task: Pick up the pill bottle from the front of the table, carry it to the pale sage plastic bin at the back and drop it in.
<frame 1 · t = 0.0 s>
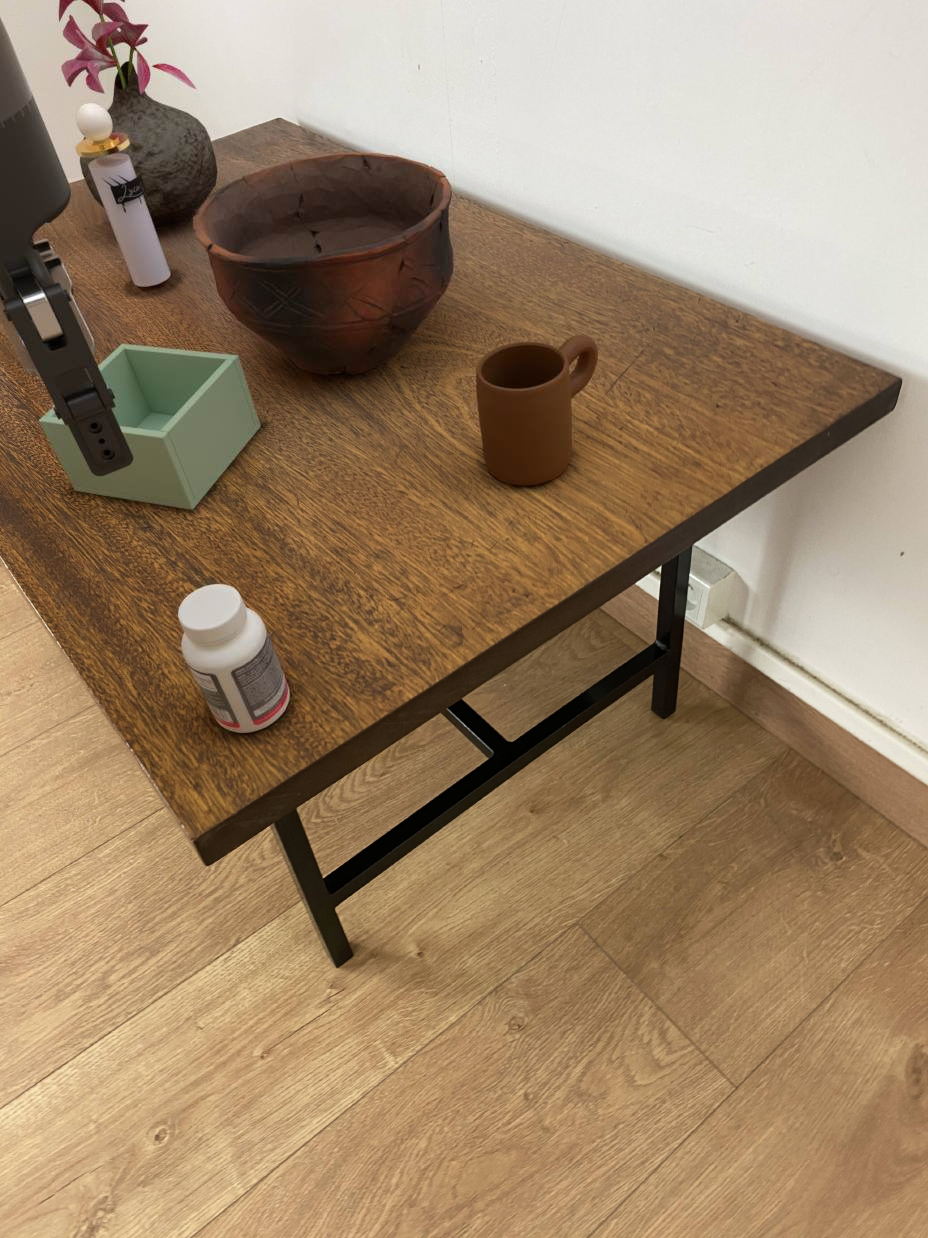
hand: (93, 429, 49), 21 cm above the table, tool pointing down, fingers open, 8 cm apart
pill bottle: (253, 705, 63), on the table
perfume bottle: (154, 284, 110), on the table
bowl: (354, 344, 95), on the table
vase: (171, 217, 124), on the table
mug: (546, 451, 79), on the table
bin: (170, 457, 84), on the table
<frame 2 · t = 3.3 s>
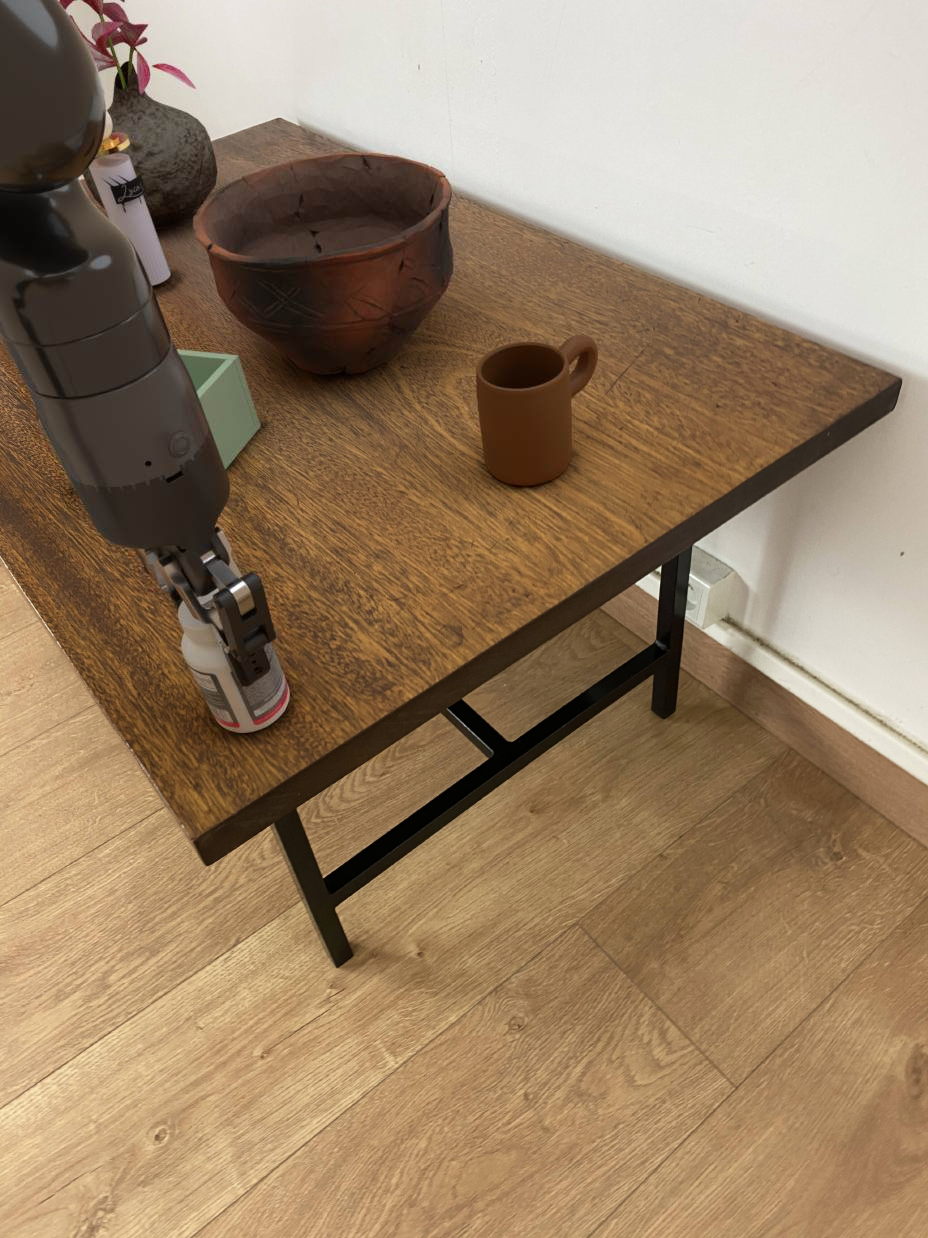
hand: (229, 652, 58), 5 cm above the table, tool pointing down, fingers closed on pill bottle, 5 cm apart
pill bottle: (253, 705, 63), on the table, touching gripper
everything else where it was.
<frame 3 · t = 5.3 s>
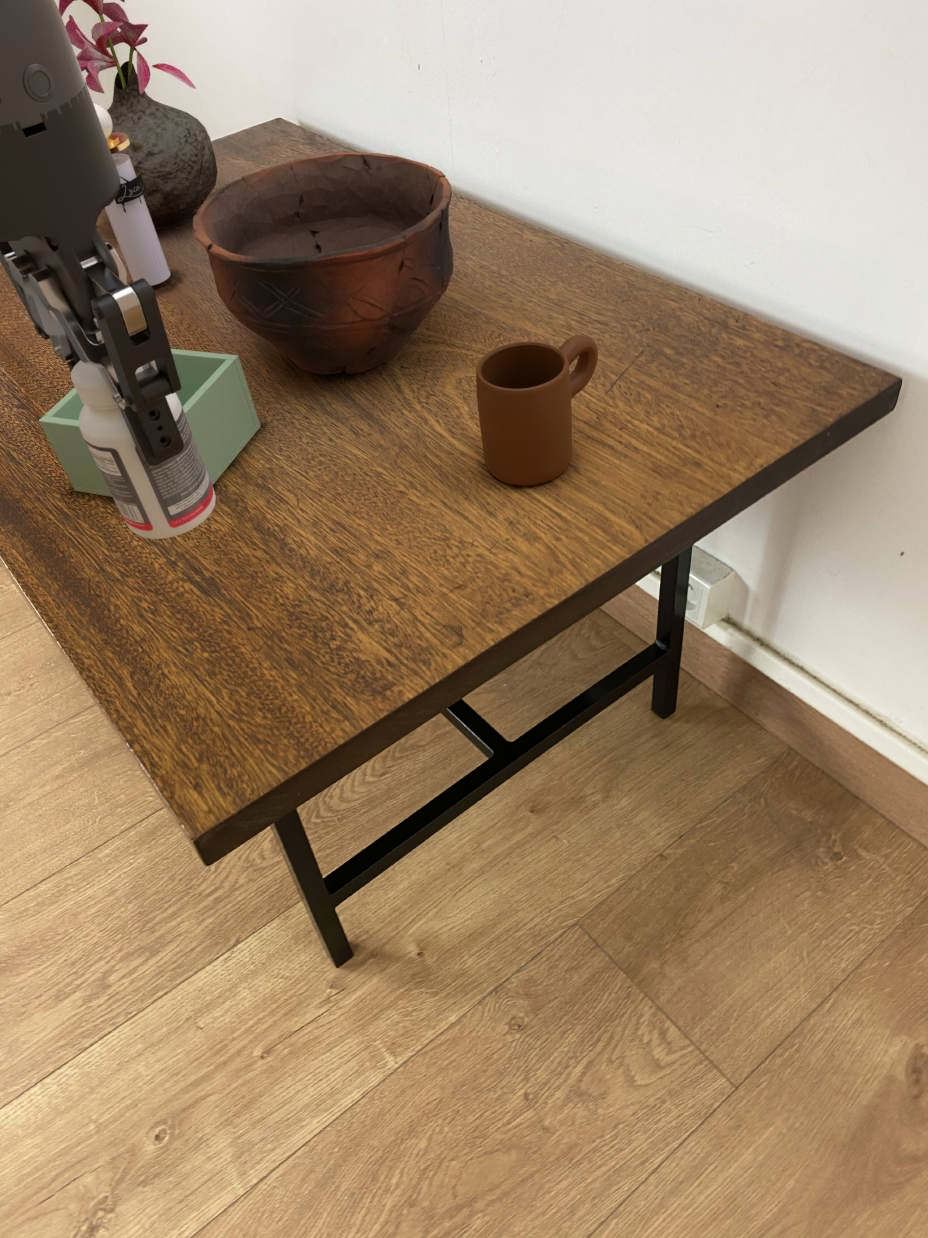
hand: (138, 434, 49), 21 cm above the table, tool pointing down, fingers closed on pill bottle, 5 cm apart
pill bottle: (173, 514, 53), point 15 cm above the table, touching gripper
everything else where it was.
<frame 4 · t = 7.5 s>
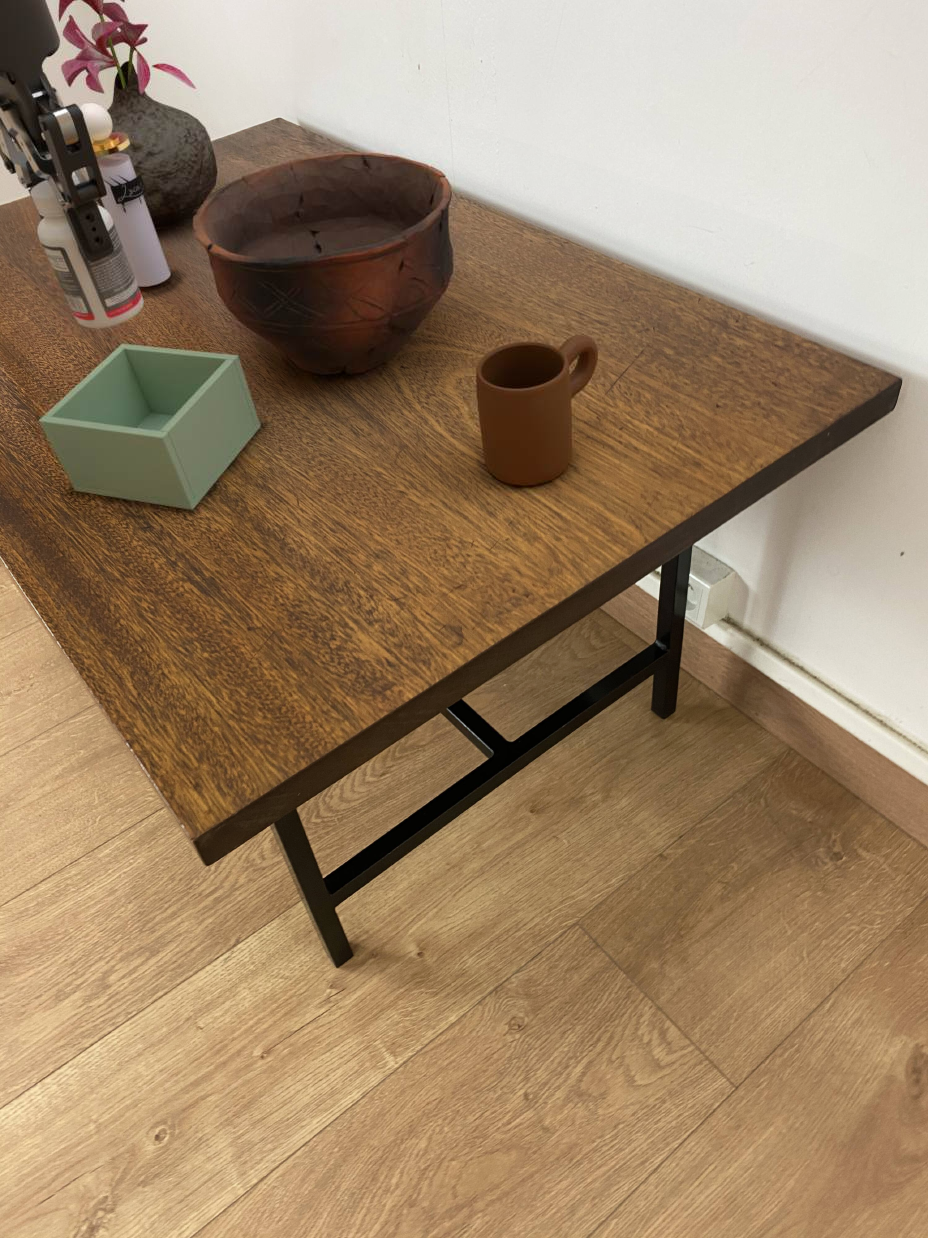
hand: (82, 244, 67), 21 cm above the table, tool pointing down, fingers closed on pill bottle, 5 cm apart
pill bottle: (112, 315, 71), point 15 cm above the table, touching gripper
everything else where it was.
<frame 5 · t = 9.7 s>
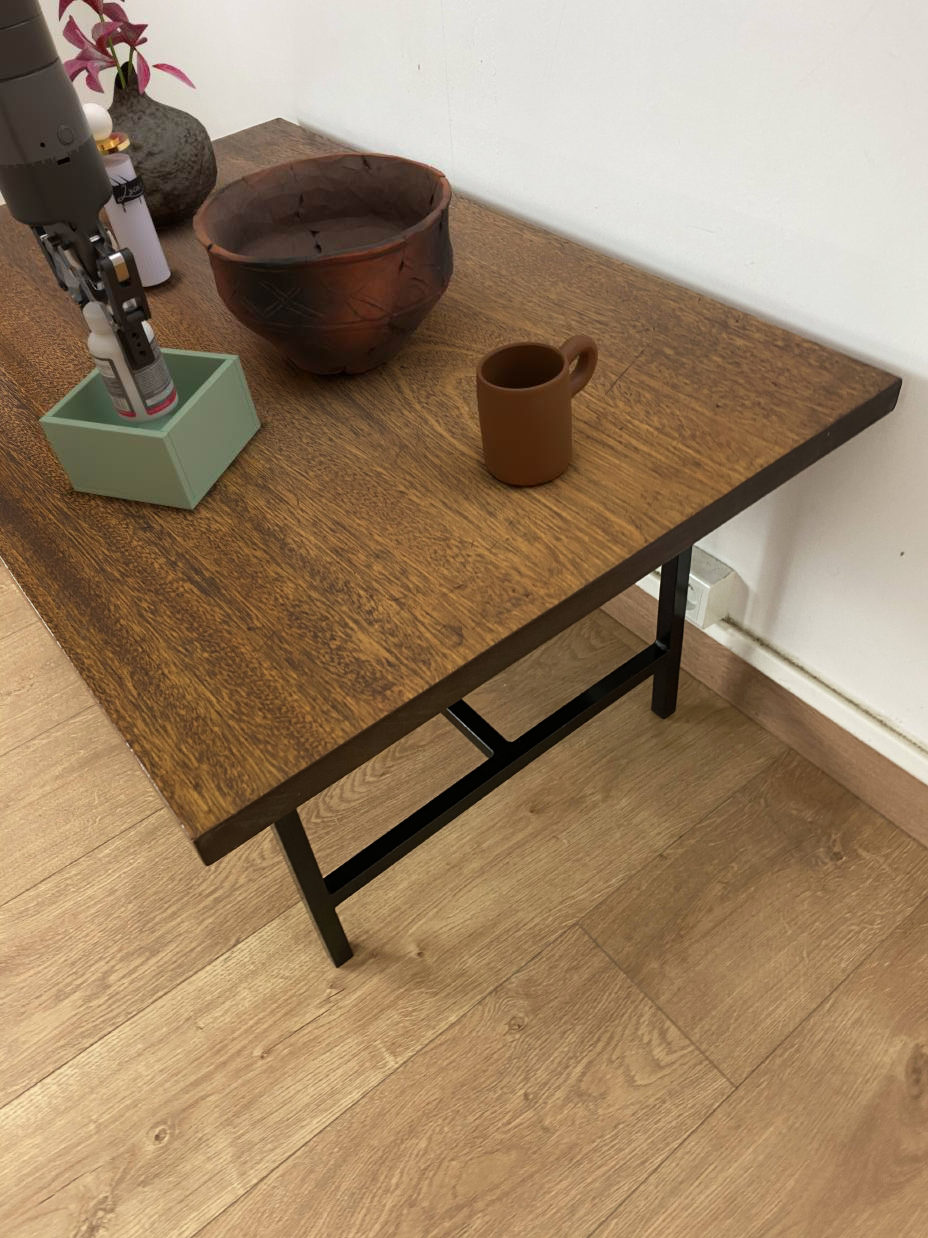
hand: (125, 352, 76), 11 cm above the table, tool pointing down, fingers closed on pill bottle, 5 cm apart
pill bottle: (150, 409, 80), point 5 cm above the table, touching gripper
everything else where it was.
when the fingers open (6 cm above the table, at t = 11.7 s): pill bottle stays where it is, resting on bin.
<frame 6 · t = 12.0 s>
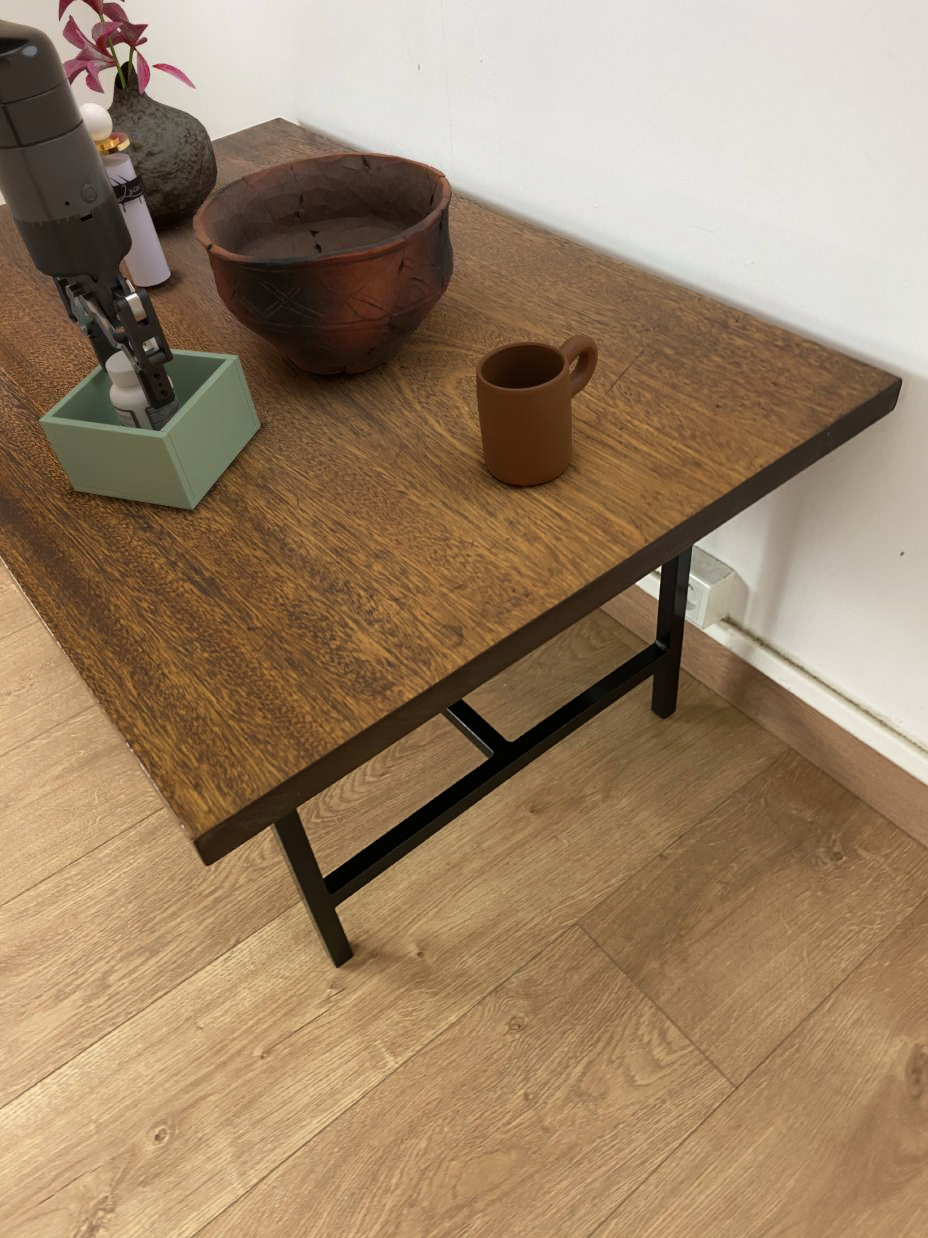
hand: (139, 386, 78), 8 cm above the table, tool pointing down, fingers open, 8 cm apart
pill bottle: (168, 454, 84), resting on bin
everything else where it was.
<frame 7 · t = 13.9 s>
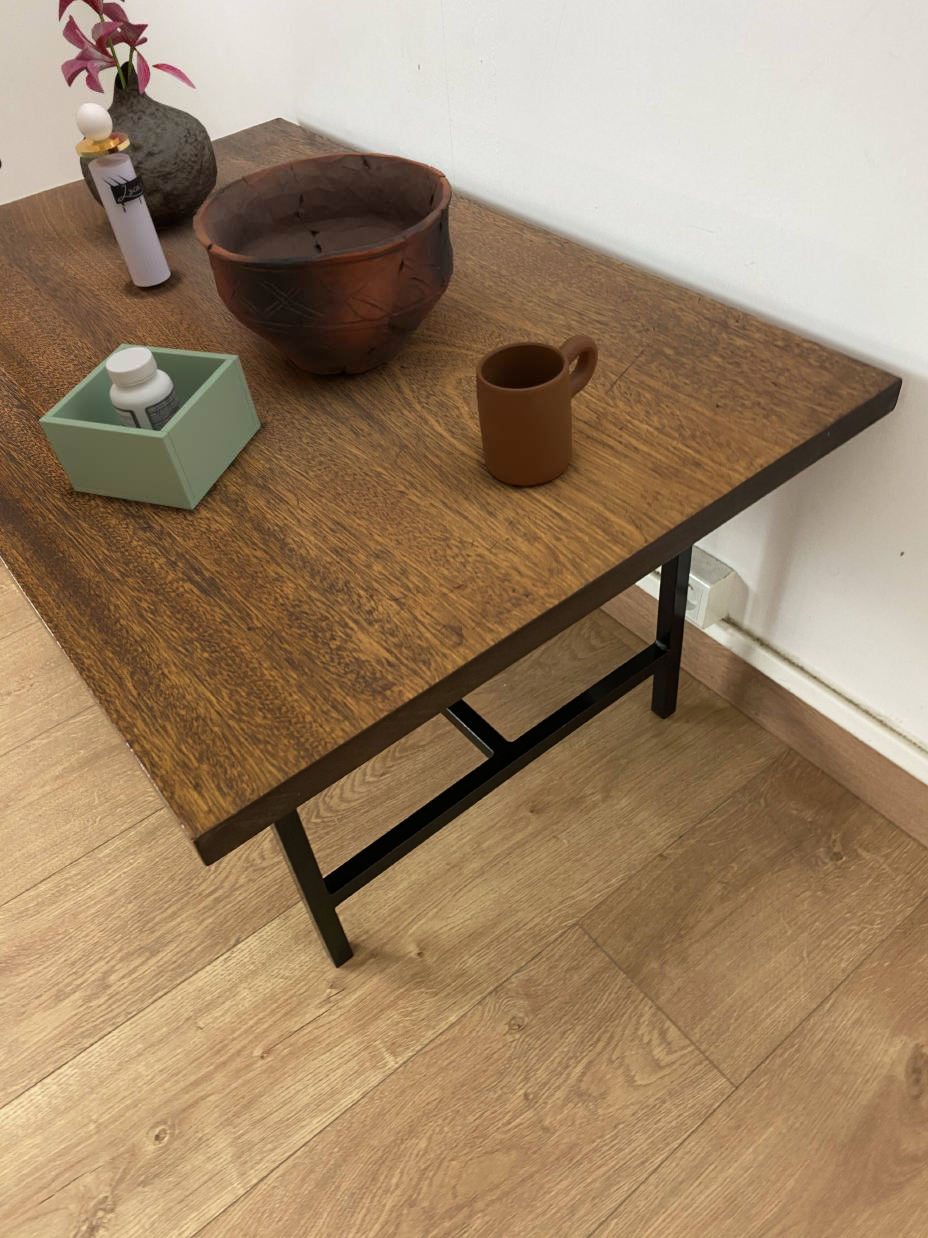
nothing on the table moved.
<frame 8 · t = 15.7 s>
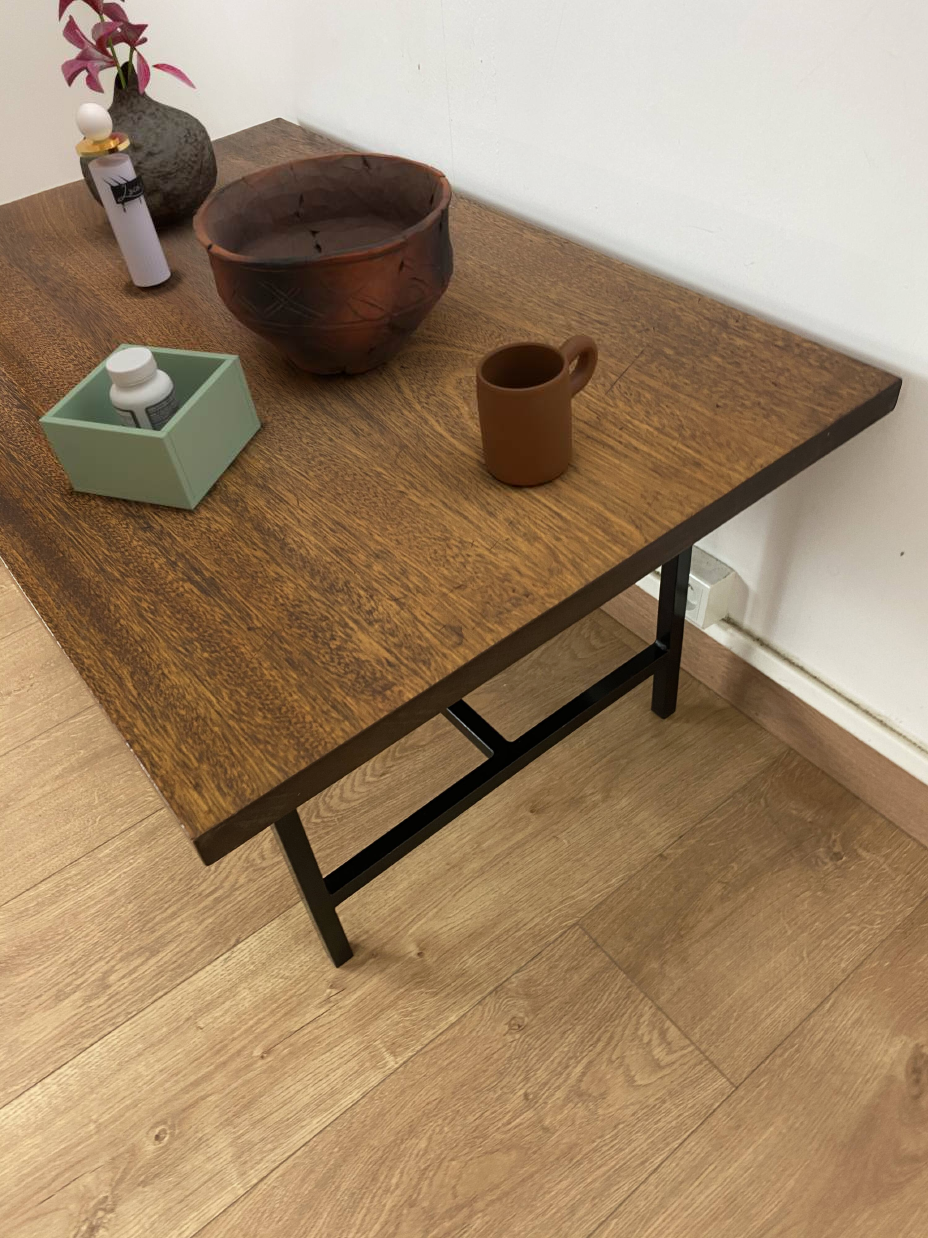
nothing on the table moved.
at the end: pill bottle inside the target area in the bin (0.1 cm from its centre), point 0.4 cm above the bin's base; the gripper is holding nothing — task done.
